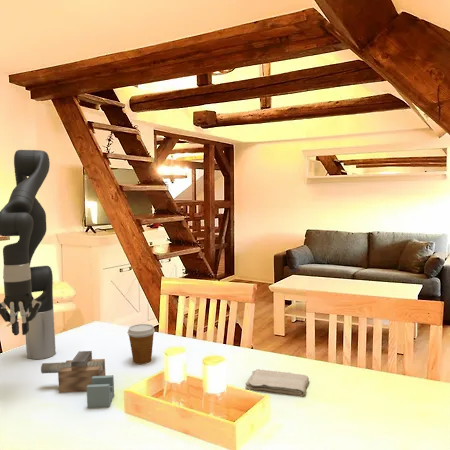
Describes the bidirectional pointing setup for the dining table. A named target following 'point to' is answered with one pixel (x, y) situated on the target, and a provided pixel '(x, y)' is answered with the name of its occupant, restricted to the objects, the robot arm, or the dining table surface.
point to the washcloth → (277, 382)
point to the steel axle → (66, 366)
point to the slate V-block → (100, 391)
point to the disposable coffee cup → (141, 342)
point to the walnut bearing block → (79, 373)
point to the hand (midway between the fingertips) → (20, 334)
